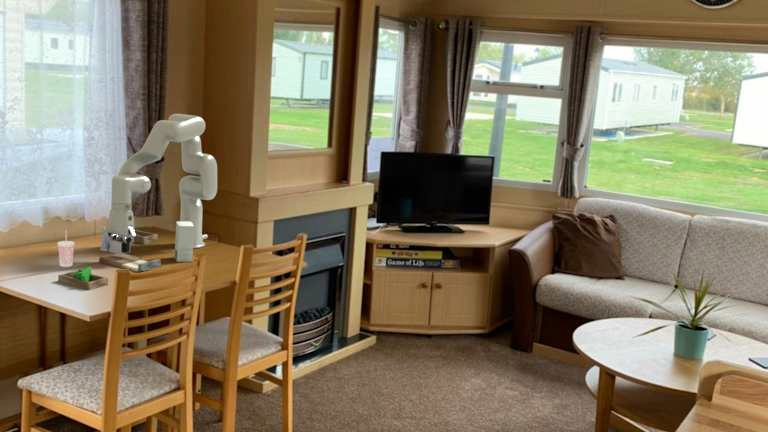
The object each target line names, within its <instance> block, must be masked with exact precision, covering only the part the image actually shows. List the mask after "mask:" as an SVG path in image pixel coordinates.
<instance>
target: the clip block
mask: <svg viewBox="0 0 768 432" xmlns="http://www.w3.org/2000/svg"><path fill="white" fill-rule="evenodd" d="M123 243H124V240H123V237H117V239H112V240H110V245H109V248H110V252H109V253H113V254H116V253H117V254H125V253H123ZM130 244H131V242H130ZM127 253H131V250H130V251H129V252H127ZM127 253H126V254H127Z"/></svg>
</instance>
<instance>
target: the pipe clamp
mask: <svg viewBox="0 0 768 432" xmlns="http://www.w3.org/2000/svg"><path fill="white" fill-rule="evenodd" d="M77 271H78V273H75V274H76V279H80V280H81V285H82V281H88V282H91V281H90V274H92V266H87V267H86V269H85V268H78V269H77Z"/></svg>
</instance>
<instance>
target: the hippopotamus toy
mask: <svg viewBox="0 0 768 432" xmlns="http://www.w3.org/2000/svg"><path fill="white" fill-rule="evenodd" d="M101 227H102V230H103V231H104V232H103V233H102V236H101V240H102V241H101V246H100V248H99V249H100V251H102V252H109V253H111V252H110V237H109V236H108V233H107V232H106V228H107V227H105V226H103V225H102V226H101ZM101 227H100V228H101ZM118 237H123V236H121V235H118ZM126 239H127V237H126ZM134 244H135V242H134V238H133V240H132V241H131V244H130V246H133V245H134Z"/></svg>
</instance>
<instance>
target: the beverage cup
mask: <svg viewBox="0 0 768 432" xmlns="http://www.w3.org/2000/svg"><path fill="white" fill-rule="evenodd" d="M67 237H68V230H67V229H66V230H65V240H62V241H58V242H57V246H58V259H59V266H60V267H64V268H65V267H66V268H68V267H72V266H73V263H74V248H75V243H76V242H74V241H70V240H68V239H67Z"/></svg>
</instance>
